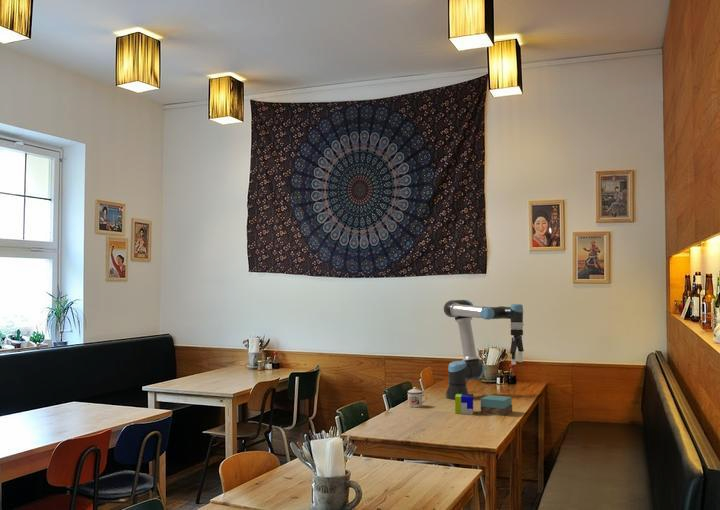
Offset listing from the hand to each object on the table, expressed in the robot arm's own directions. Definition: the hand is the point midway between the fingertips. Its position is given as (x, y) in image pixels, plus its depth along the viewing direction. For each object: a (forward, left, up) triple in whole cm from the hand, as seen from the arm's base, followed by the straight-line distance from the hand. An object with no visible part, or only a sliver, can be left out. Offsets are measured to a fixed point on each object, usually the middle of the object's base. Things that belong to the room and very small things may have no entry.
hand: (516, 363), depth 412 cm
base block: (-2, -29, -26) cm, 39 cm away
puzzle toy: (-18, -39, -26) cm, 51 cm away
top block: (-2, -30, -22) cm, 37 cm away
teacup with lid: (-50, -37, -26) cm, 68 cm away
